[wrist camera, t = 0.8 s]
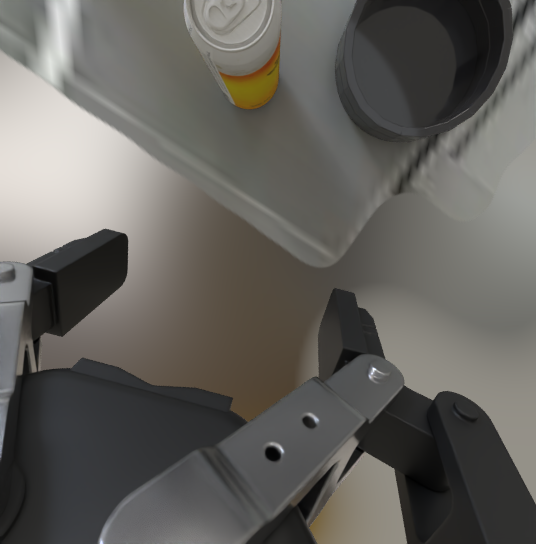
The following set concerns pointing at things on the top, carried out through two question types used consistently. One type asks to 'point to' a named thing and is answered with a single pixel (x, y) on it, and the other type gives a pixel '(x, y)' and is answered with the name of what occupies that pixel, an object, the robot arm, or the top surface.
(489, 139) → the top surface
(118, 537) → the robot arm
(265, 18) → the beer can
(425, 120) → the dark grey bowl
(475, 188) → the top surface
